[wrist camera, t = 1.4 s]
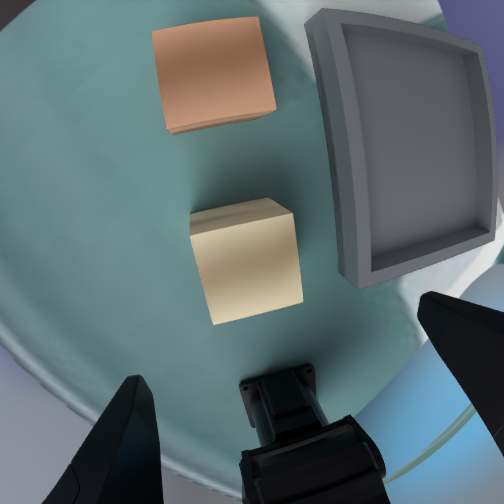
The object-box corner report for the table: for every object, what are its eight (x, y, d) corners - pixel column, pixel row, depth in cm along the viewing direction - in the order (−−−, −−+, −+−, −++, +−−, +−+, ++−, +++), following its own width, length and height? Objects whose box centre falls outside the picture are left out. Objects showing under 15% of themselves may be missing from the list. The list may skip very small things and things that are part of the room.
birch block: (278, 267, 21) (303, 301, 16) (207, 284, 20) (213, 325, 16) (267, 197, 19) (292, 213, 14) (189, 213, 18) (190, 235, 14)
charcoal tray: (472, 231, 24) (494, 240, 21) (339, 272, 22) (358, 289, 19) (458, 49, 17) (481, 44, 15) (304, 24, 15) (322, 8, 13)
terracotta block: (254, 119, 17) (276, 109, 13) (173, 134, 17) (166, 129, 12) (241, 47, 15) (258, 16, 11) (160, 60, 15) (151, 31, 10)
